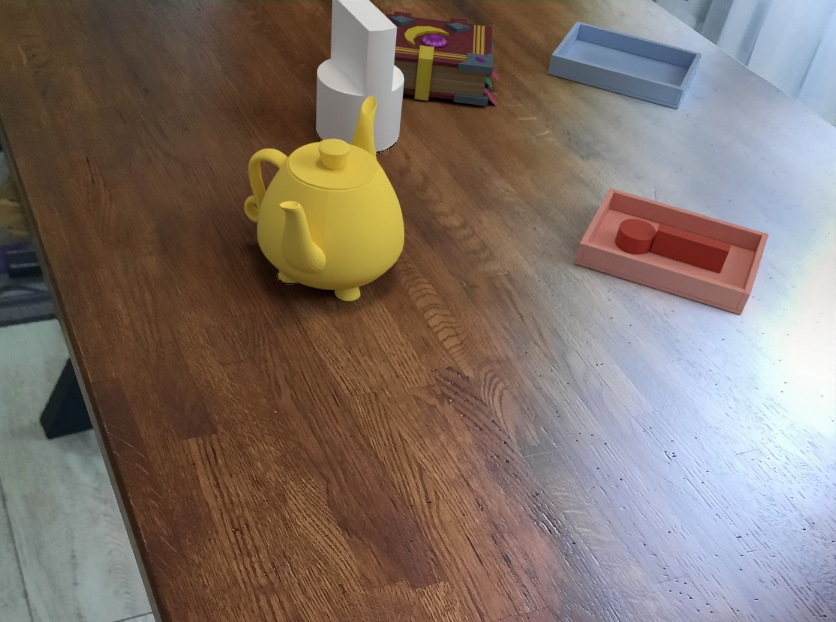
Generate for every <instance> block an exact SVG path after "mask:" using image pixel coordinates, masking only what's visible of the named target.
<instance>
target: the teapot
mask: <svg viewBox="0 0 836 622" xmlns="http://www.w3.org/2000/svg"><path fill="white" fill-rule="evenodd" d="M376 107H377V100H376V98H375V97H374V96H370V97H368V98H367V99H366V100H365V101H364V102H363V104H362V106H361V109H360V113H359V117H358V121H357V124H356V128H355V132H354V135H353V138H352V142H351V145H350V144H348V143H347V142H345V141H343V140H339V139H325V140H322V141H321V140H320V141H317V142H311V143H308V144H305V145H304V144H303V145H301V146H300V147H298V148H296V149H295V150H293V152H292V153H290V154H289V155H287V154H285V153H283V151H280V150H278V149H275V148H263V149H260V150H257V152H255V153H254V154H253V155H252V156H251V157H250V158H249V159H250V160H249V162H248V166H247V174H248V180H249V185H250V188H251V192H252V195H249V196H248V197H247V198H246V199H245V201H244V205H243V210H244V213H245V216H246V217H247V218H248V219H249V220H250V221H252V222H254V223H257V224H256V237H257V242H258V246H259V248H260V250H261V252H262V254H263V255H264V257H265V258H266V259H267V260H268V261H269V263H270V264H272V266H274V267H275V268H276V269H277V270H278V272H279V273H278V272H277V274H278V276H279V278H280V279H282V280H283V281H286V282H287V283H296V284H298V283H299V284H300V285H303V286H307V287H311V288H313V289H314V288H315V289H320V290H328V291H329V290H330V291H334V295H335V297H336V298H337V299H339V300H341V301H345V302H353V301H356V300H358V299H359V298H360V297H361V291H360V287H363V286H365V285H368V284H370V283H372V282H374V281H375V280H377V279H378V278H380V277H381V276H382V275H384V274H385V273H387V271H388V270H389V269H391V268H392V267H393V266H394V265H395V264H396V262H397V261H398V260H399V258H400V256H401V254H402V252H403V250H404V245H405V223H404V217H403V212H402V208H401V205H400V202H399V199H398V197H397V194H396V191H395V189H394V186H393V185H392V183H391V182H390V180H389V177H388V176H387V174H386V172H385V170H384V169H383V167H382V166H381V164H380V163H379V161H378V159H377V153H376V152H375V143H374V117H375V112H376ZM262 162H267V163H268V162H269V163H271V164H272V165H274V166H276V167H277V168H278V170H277V172H276V173H275V175H274V176H273V178H272V179H271V181H270V183H269V185H268V187H267V188H265V187H266V186H265V184H264V180H263V176H262V170H261V163H262ZM297 282H298V283H297Z"/></svg>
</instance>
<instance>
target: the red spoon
mask: <svg viewBox="0 0 836 622" xmlns="http://www.w3.org/2000/svg"><path fill="white" fill-rule="evenodd" d="M615 243H616V245H617V246H618V247H619V248H620V249H621V250H623V251H625V252H627V253H630V254H645V253H647V252H649V251H650V252H651V253H654V254H658V255H661V256H664V257H667V258H671V259H674V260H677V261H681V262H684V263H687V264H691V265H694V266H697V267H700V268H704V269H707V270H710V271H714V272H717V273H721V270H722V268H723V265H724V263H725V261H726V258H727V256H728V254H729V251H730V248H731V245H728V244H725V243H721V242H718V241H715V240H711V239H708V238H705V237H701V236H698V235H694V234H691V233H688V232H684V231H681V230H678V229H674V228H671V227H668V226H664V225H659V227H658V229H657V232H656V229H655V228H654V227H653V226H652V225H651V224H650V223H648V222H646V221H643V220H639V219H627V220H624V221H622V222H621V223H620V225H619V228H618V232H617V235H616V238H615Z"/></svg>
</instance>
